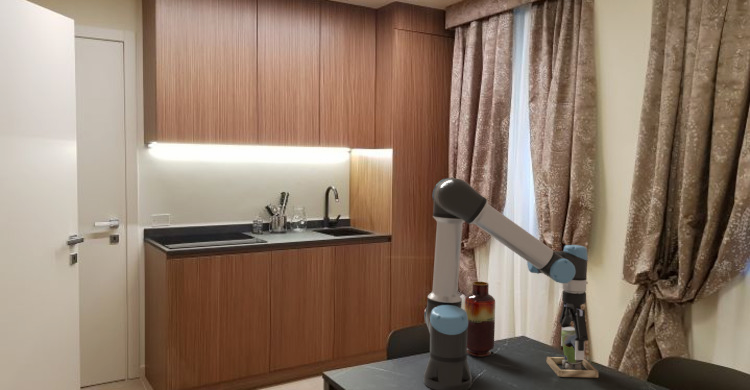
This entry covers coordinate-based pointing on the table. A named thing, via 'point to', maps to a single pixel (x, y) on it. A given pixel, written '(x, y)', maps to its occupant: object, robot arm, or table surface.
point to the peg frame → (568, 368)
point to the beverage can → (569, 345)
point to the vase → (480, 320)
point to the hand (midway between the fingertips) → (572, 352)
